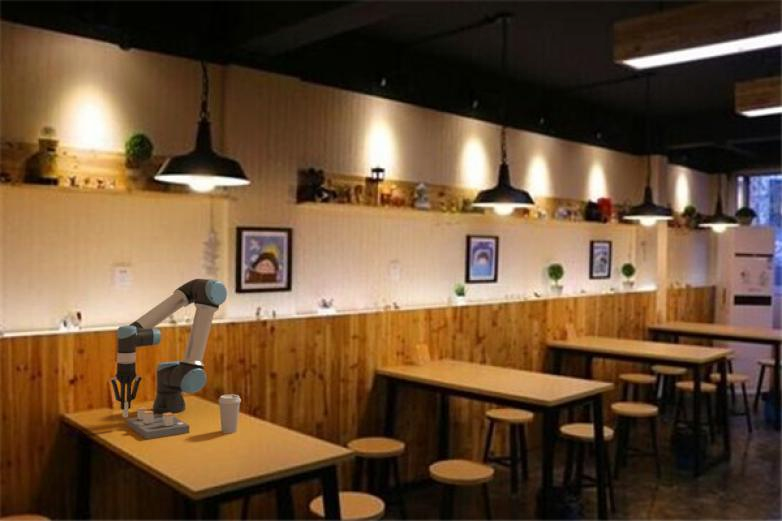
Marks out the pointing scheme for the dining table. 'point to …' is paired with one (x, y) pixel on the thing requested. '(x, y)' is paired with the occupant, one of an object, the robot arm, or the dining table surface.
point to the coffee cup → (229, 412)
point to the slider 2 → (167, 419)
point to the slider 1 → (140, 412)
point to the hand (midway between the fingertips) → (125, 416)
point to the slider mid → (148, 417)
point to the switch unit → (157, 427)
